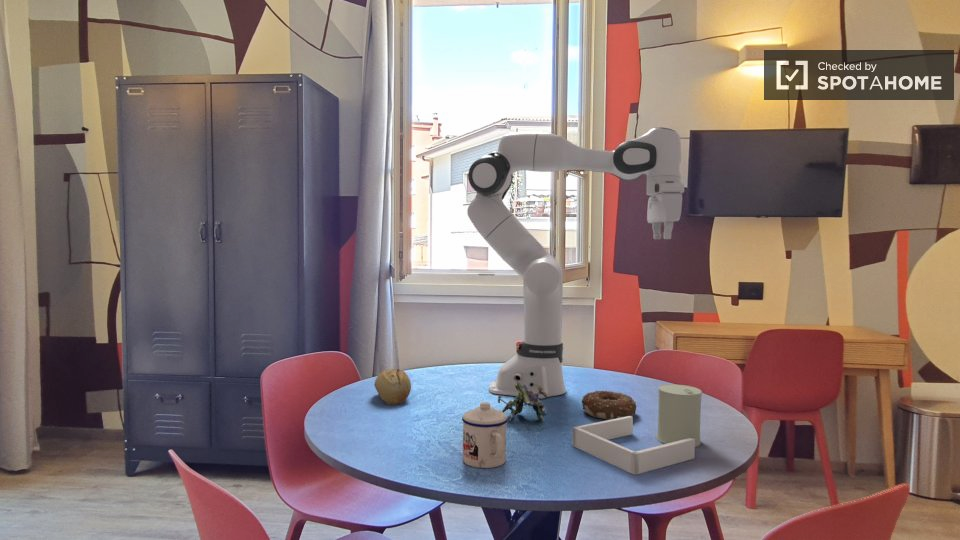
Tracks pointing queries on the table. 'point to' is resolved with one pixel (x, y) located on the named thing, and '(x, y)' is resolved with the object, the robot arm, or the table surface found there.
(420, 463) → the table surface
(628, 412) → the donut
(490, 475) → the table surface
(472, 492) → the table surface
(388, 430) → the table surface
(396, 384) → the bread roll
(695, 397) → the can
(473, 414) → the teacup with lid
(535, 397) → the passion flower
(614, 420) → the tray
